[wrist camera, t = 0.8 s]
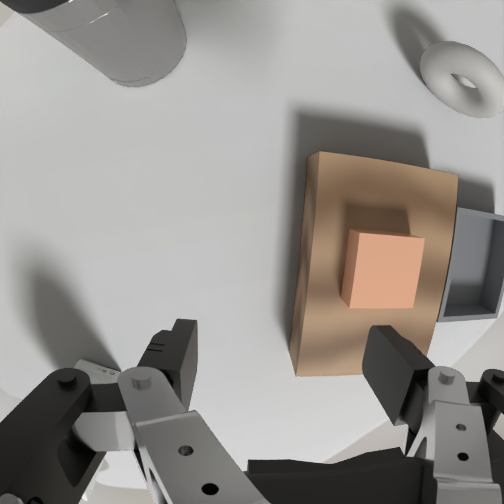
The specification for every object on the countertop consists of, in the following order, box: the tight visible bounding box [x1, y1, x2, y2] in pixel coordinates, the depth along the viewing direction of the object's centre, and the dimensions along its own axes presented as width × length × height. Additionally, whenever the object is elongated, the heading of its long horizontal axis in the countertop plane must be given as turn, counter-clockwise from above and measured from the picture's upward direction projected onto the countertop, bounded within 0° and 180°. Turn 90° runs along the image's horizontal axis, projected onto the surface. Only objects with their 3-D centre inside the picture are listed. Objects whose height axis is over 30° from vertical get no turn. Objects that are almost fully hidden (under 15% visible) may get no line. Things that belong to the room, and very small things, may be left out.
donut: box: [420, 41, 504, 118], centre depth 23 cm, size 10×4×10 cm, turn 60°
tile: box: [341, 228, 425, 309], centre depth 25 cm, size 6×6×2 cm
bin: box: [436, 207, 504, 322], centre depth 30 cm, size 12×10×4 cm
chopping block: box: [289, 151, 458, 376], centre depth 29 cm, size 20×14×5 cm
